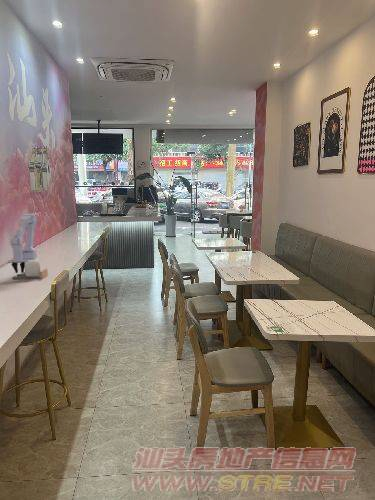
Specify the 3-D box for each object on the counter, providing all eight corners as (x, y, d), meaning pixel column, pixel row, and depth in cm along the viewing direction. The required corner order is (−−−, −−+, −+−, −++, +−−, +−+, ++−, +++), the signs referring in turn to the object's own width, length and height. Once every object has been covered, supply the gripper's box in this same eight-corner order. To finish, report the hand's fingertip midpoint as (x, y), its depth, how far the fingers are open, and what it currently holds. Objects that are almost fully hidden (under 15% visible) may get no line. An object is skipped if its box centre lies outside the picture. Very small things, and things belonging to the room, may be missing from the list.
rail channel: (18, 275, 284) (17, 269, 283) (47, 275, 284) (47, 268, 283) (12, 279, 274) (11, 272, 273) (42, 278, 274) (42, 271, 273)
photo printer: (25, 278, 276) (23, 261, 274) (26, 276, 280) (24, 259, 278) (40, 277, 278) (39, 260, 276) (41, 275, 283) (39, 259, 280)
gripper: (4, 255, 272) (7, 274, 274) (25, 254, 272) (27, 273, 274) (9, 253, 279) (11, 272, 281) (29, 253, 279) (31, 271, 281)
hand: (19, 272), depth 278 cm, fingers open, 4 cm apart
